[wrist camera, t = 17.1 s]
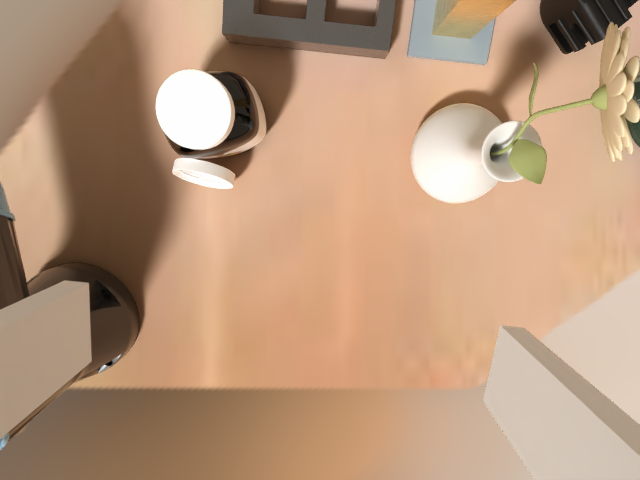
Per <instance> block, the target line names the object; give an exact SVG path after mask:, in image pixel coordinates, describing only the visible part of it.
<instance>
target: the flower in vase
mask: <svg viewBox="0 0 640 480" xmlns="http://www.w3.org/2000/svg"><path fill="white" fill-rule="evenodd" d="M629 40H630V28H629V27H626V28H625V30H624V31H623V34H622V37H621V31H620V30H618V26H617V24H615V25H614V23H613V22H611V23H610V24H609V26H608V29H607V32H606V37H605V40H604V44H603V49H602V54H601V64H600V85H599V88H598V89H597V90H596V91H595V92H594V93H593V95H592V97H591V99H587V100H583V101H578V102H574V103H570V104H566V105H562V106H558V107H553V108H549V109H545V110H542V111H538V112H536V113H534V114H533V115H532V107H533V99H534V94H535V90H536V85H537V81H538V68H537V66H536V64H535V63H534V62H533V65H534V70H535V76H534V81H533V85H532V88H531V92H530V96H529V113H530V117H529V118H528V119H527V120H526V121H525V122H522V121H508V122H504V123H501V121H500V120H499V119H498V118H497V117H496V116H495V115H494V114H493V113H492V112H490V111H489V110H487V109H486V108H483V107H481V106H479V105H475V104H469V103H458V104H452V105H449V106H446V107H444V108H441V109H439V110H438V111H436V112H434V113H433V114H432V115H431V116H429V117H428V118H427V119H426V120H425V121H424V123H423V124H422V125H421V126H420V128H419V130H418V131H417V133H416V135H415V138H414V140H413V144H412V148H411V166H412V171H413V174H414V176H415V178H416V180H417V182H418V184H419V185H420V186H421V188H422V189H423V190H424V191H425V192H426V193H428V194H429V195H430V196H432V197H433V198H435V199H438V200H440V201H443V202H447V203H465V202H469V201H472V200H475V199H477V198H479V197H481V196H483V195H484V194H486V193H487V192H488V191H490V190H491V189H492V188H493V187H494V186H495V185H496V184H497V183H498V181H503V182H513V181H517V180H520V179H522V178H525V179H527V180H529V181H531V182H534V183H537V184H541V183H542V180H543V177H544V174H545V169H546V162H547V156H546V151H545V149H544V148H543V147H542V145H541V140H540V137H539V135H538V133H537V131H536V130H535V129H534V128H533V127H532V126H531V125H529V123H530V122H531V121H532V120H533V119H535V118H536V117H538V116H540V115H544V114H547V113H552V112H556V111H560V110H565V109H569V108H573V107H578V106H582V105H587V104H591V103H592V105H593V106H594V107H596V108H598V109H600V111H601V122H602V133H603V138H604V142H605V145H606V148H607V151H608V153H609V156H610V158H611V160H612V162H615V157H616V158H618V159H619V160H620V161H621V160H622V150H623V146H625V149H626V151H627V152H628V153H629V154H632V153H633V143H632V139H631V135H630V132H629V129H628V125H627V122H626V119H628V120H629V121H630V122H633V123H637V122H638V121H639V119H640V107H639V105H638V104H637V102H636V101H635V100H634V99H633V98H632V97H633V94H634V83H633V81H634V80H635V78H636V76H637V74H638V72H639V67H640V62H639V57H638V56H634V57H632V58H631V59H630V60H629V61H628V63H627V64H626V66H625V67H624V64H625V61H626V57H627V54H628V50H629ZM625 118H626V119H625Z"/></svg>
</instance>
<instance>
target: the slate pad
mask: <svg viewBox="0 0 640 480" xmlns="http://www.w3.org/2000/svg"><path fill="white" fill-rule="evenodd" d="M436 2H437V0H415V4H414V11H413V18H412V25H411V32H410V39H409V46H408V53H407V57H416V58H425V59H435V60H444V61H453V62H462V63H472V64H481V65H485V64H487V59H488V54H489V49H490V43H491V38H492V33H493V27H494V22H495V18H494V19H493V20H492V21H491V22H490V23H489V24H487V25H486V26H485V27H484V28H483V29H482V30H480V31H479V32H478V33H477V34H476V35H475V36H473V37H472V38H471V39H466V38H457V37H448V36H438V35H432V28H433V22H434V15H435V9H436Z"/></svg>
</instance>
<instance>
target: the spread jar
mask: <svg viewBox="0 0 640 480" xmlns="http://www.w3.org/2000/svg"><path fill="white" fill-rule="evenodd" d="M156 114H157V118H158V122H159V124H160V126H161V128H162V130H163V132H164V134H165V136H166V138H167V140H168V142H169V144H170V145H171V147H172V148H173V149H174V151H175V152H176V153H177V154H179V155H180V156H182V157H185V158H178V159H176V160H175V161H174V166H173V170H172V173H173V174H174V175H175V176H177V177H179V178H181V179H183V180H186V181H189V182H192V183H195V184H199V185H203V186H207V187H213V188H220V189H230V188H232V187H233V185H234V180H235V174H234V173H233V172H232V171H230V170H229V169H227V168H225V167H222V166H220V165H217V164H214V163H211V162H207V161H203V160H198V159H209V158H219V157H226V156H231V155H235V154H238V153H241V152H244V151H246V150H248V149H250V148H252V147H254V146H255V145H257V144H258V143H260V142H261V141H262V140H263V139H264V137H265V135H266V118H265V113H264V109H263V106H262V103H261V101H260V98H259V96H258V94H257V92H256V90H255V89H254V87H253V86H252V85H251V83H250V82H249V81H248V80H247V79H246V78H244V77H243V76H241V75H239V74H237V73H234V72H229V71H210V72H204V71H201V70H197V69H186V70H180V71H178V72H176V73H174V74H172V75H171V76H169V77H168V78H167V79H166V80H165V81H164V82H163V84H162V85H161V87H160V89H159V91H158V94H157V98H156ZM192 158H193V159H192Z"/></svg>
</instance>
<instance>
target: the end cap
mask: <svg viewBox="0 0 640 480" xmlns="http://www.w3.org/2000/svg"><path fill="white" fill-rule="evenodd" d="M637 1H638V0H541V3H540V15H541V19H542V21H543V24H544V25H545V27H546V29H547V30H548V32H549V33H550V35H551V36H552V38H553V39H554V41H555V42H556V44H557V45H558V47H559V48H560V50H561V51H562V53H564V54H568V53H571V52H573V51H574V52H576V51H579V50H581V49H583V48H584V47H586V45H585V43H587V42H588V41H589V42H590V43H591V45H592V44H595V43H597V42H599V41H601V40H603V39H605V37H606V32H607V29H608V26H609V24H610V23H611V22H613V23H614V25H615V24H617V26H618V28H619V27H620V26H621V25H623V24H624V23H625V22H626V21H628V20H629V19H630V18H631V17H632V15H631V14H630V12H629V10H628V8H629V7H631V6H632V5H633V4H634V3H636V2H637Z"/></svg>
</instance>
